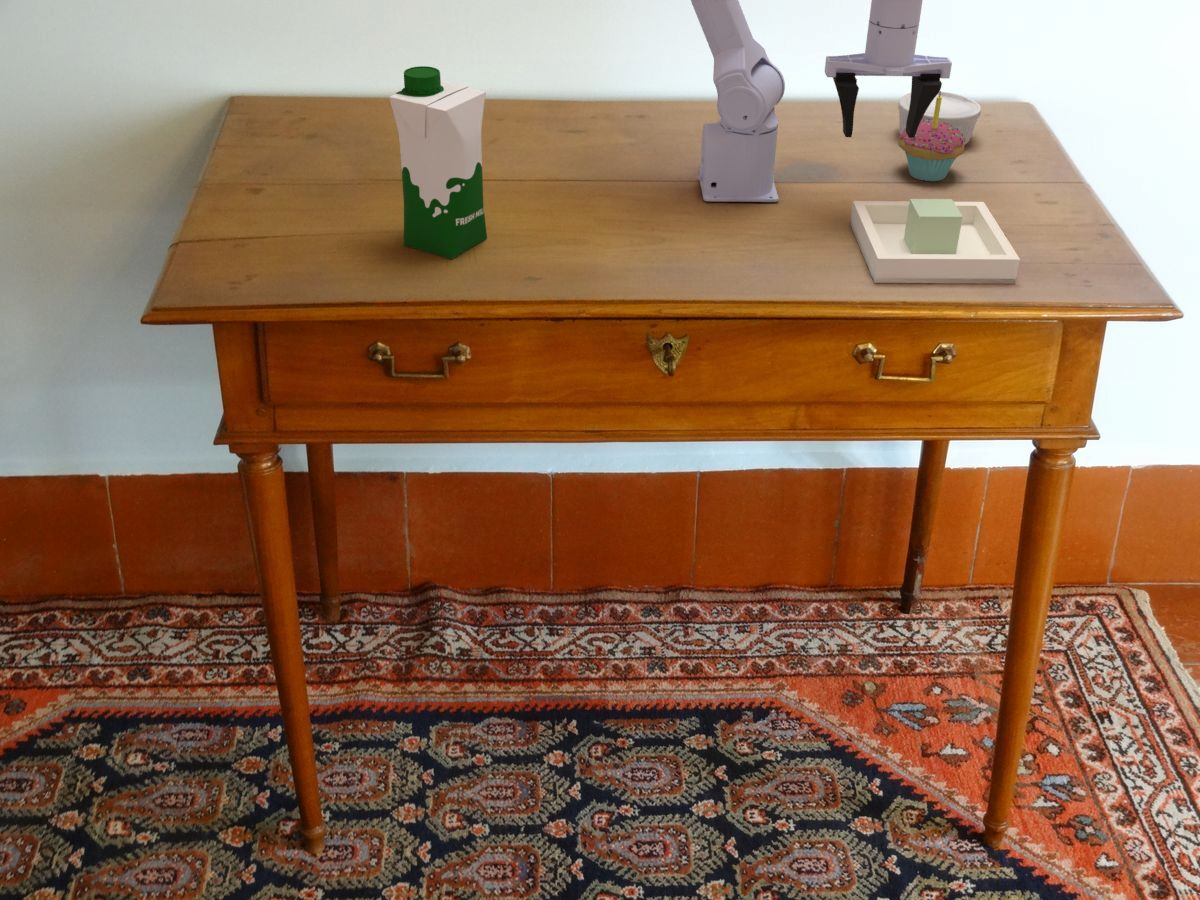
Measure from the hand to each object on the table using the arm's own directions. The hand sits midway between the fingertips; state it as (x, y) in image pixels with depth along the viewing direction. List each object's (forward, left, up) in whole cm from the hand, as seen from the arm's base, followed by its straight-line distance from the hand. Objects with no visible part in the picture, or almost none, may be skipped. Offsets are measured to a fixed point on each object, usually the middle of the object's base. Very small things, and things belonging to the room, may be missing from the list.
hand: (878, 134), depth 163 cm
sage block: (+5, -12, -9) cm, 16 cm away
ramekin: (+14, +25, -10) cm, 30 cm away
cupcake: (+10, +12, -10) cm, 19 cm away
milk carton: (-52, -10, -10) cm, 54 cm away
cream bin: (+5, -12, -10) cm, 16 cm away
